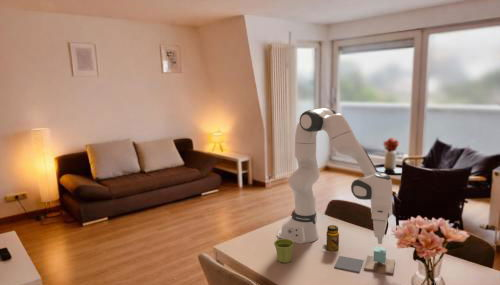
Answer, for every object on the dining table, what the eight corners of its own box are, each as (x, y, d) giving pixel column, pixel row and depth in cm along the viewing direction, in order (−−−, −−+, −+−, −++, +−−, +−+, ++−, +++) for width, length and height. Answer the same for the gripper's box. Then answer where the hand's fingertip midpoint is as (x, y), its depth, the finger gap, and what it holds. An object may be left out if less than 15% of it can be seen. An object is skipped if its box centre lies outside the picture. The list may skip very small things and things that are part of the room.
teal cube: (373, 261, 158) (373, 250, 157) (374, 256, 162) (375, 246, 161) (384, 263, 156) (385, 252, 155) (385, 258, 160) (386, 248, 159)
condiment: (339, 253, 172) (339, 230, 170) (321, 251, 175) (321, 228, 173) (339, 246, 179) (340, 224, 177) (323, 244, 182) (323, 223, 179)
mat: (334, 268, 159) (334, 266, 159) (339, 256, 169) (339, 255, 169) (359, 272, 154) (359, 271, 154) (362, 261, 164) (362, 259, 164)
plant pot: (271, 257, 170) (270, 241, 169) (288, 253, 174) (287, 237, 172) (280, 266, 162) (279, 249, 160) (297, 262, 165) (297, 244, 164)
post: (363, 269, 157) (364, 255, 155) (367, 257, 167) (367, 243, 166) (392, 275, 151) (393, 260, 150) (394, 262, 162) (395, 248, 161)
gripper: (376, 201, 165) (376, 228, 167) (371, 216, 147) (370, 247, 149) (390, 202, 162) (390, 230, 165) (387, 218, 144) (386, 249, 147)
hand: (381, 238), depth 157 cm, fingers open, 8 cm apart
